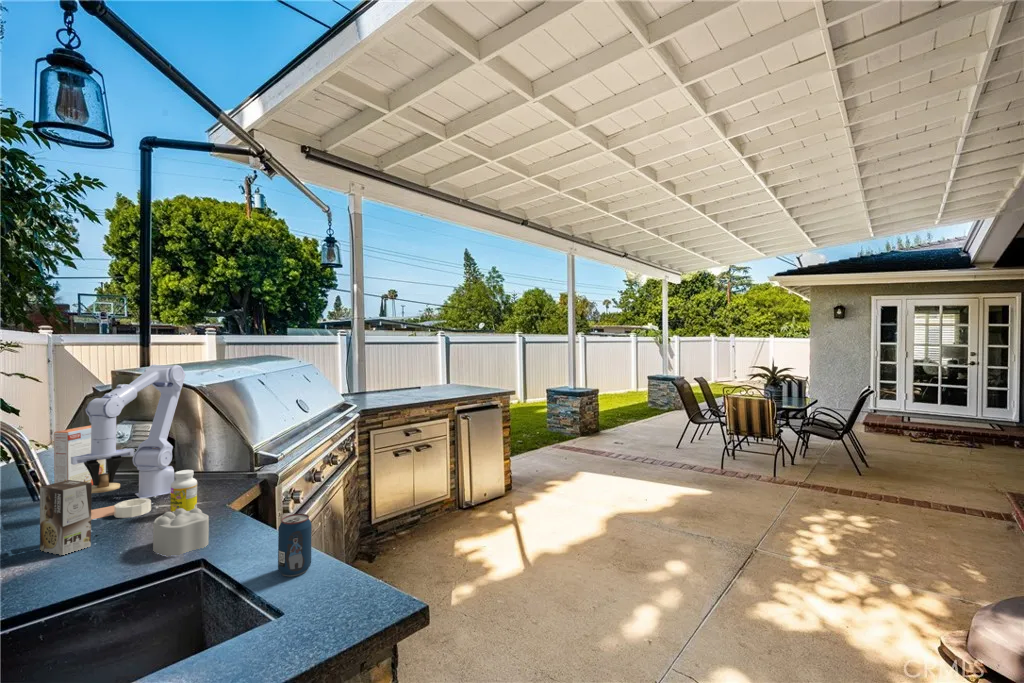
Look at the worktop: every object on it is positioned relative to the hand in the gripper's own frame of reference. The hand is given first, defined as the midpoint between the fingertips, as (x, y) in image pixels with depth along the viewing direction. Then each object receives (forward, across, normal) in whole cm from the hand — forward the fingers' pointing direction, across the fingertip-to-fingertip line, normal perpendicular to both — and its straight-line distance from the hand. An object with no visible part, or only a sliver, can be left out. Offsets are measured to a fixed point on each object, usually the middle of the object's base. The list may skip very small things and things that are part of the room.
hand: (103, 483), depth 145 cm
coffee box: (+9, +14, +22) cm, 28 cm away
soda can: (+9, -11, +80) cm, 81 cm away
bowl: (+9, -5, +8) cm, 13 cm away
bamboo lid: (+2, 0, 0) cm, 2 cm away
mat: (+9, 0, 0) cm, 9 cm away
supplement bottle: (+9, -14, +20) cm, 26 cm away
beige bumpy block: (+10, -2, +43) cm, 44 cm away
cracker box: (+9, -6, -41) cm, 42 cm away
